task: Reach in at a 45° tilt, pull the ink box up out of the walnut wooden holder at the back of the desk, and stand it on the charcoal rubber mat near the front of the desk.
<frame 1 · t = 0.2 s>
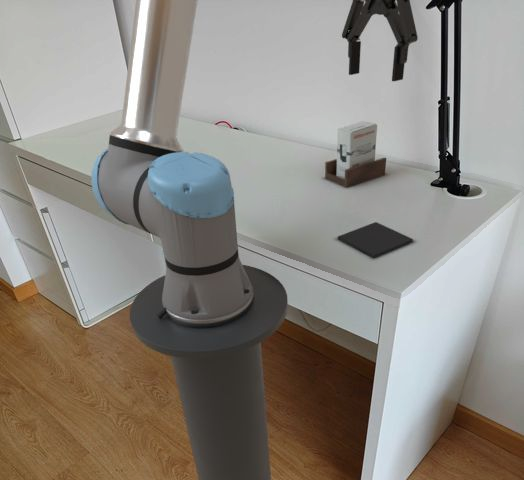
hand: (374, 77, 114), 21 cm above the table, tool pointing down, fingers open, 13 cm apart
ink box: (354, 177, 122), resting in holder
mat: (374, 240, 96), on the table
holder: (354, 176, 122), on the table
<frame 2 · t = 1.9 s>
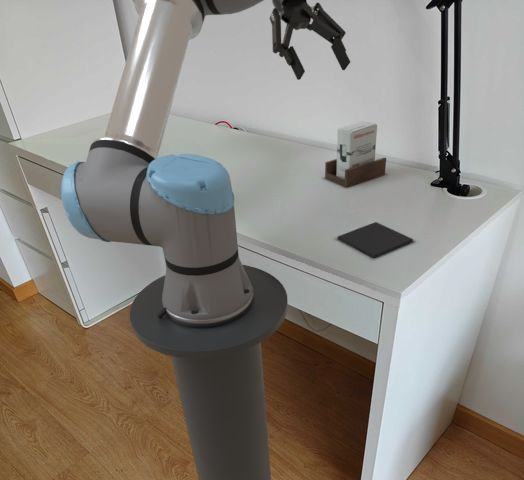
hand: (324, 71, 117), 22 cm above the table, tool tilted 45°, fingers open, 13 cm apart
nothing on the table moved.
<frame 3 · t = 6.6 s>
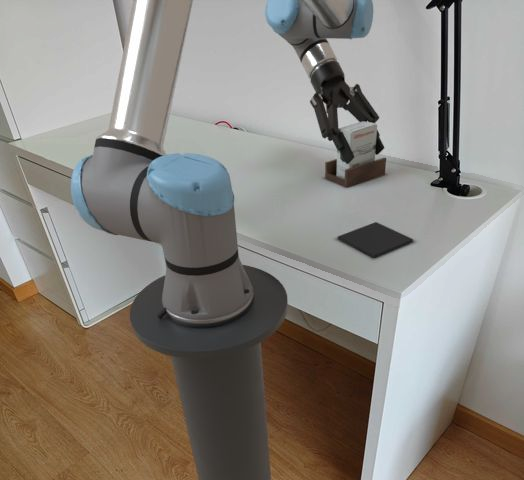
hand: (365, 155, 116), 6 cm above the table, tool tilted 45°, fingers closed on ink box, 9 cm apart
ink box: (354, 177, 122), resting in holder, touching gripper
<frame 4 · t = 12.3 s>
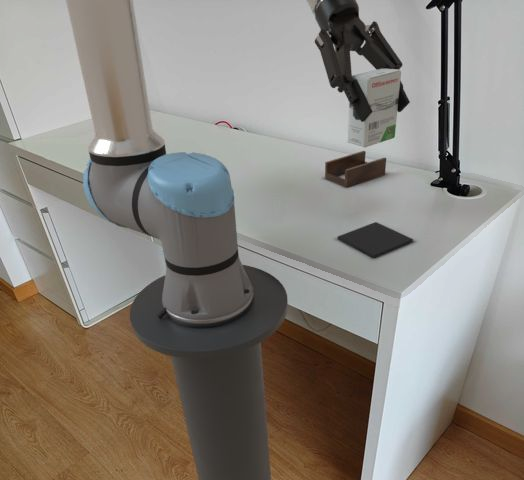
hand: (385, 112, 91), 20 cm above the table, tool tilted 45°, fingers closed on ink box, 9 cm apart
ink box: (370, 141, 97), point 14 cm above the table, touching gripper
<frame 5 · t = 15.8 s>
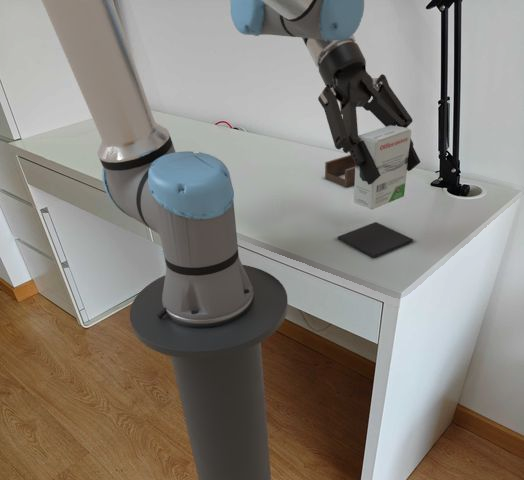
hand: (394, 173, 85), 14 cm above the table, tool tilted 45°, fingers closed on ink box, 9 cm apart
ink box: (378, 200, 91), point 8 cm above the table, touching gripper
when the fingers open (6 cm above the table, at t = 18.3 s): ink box stays where it is, resting on mat.
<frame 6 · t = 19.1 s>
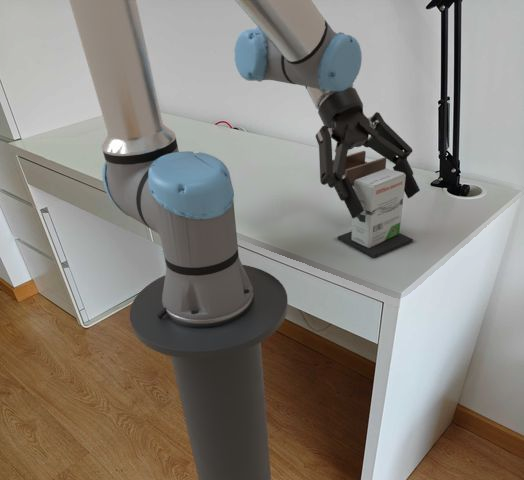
hand: (387, 204, 89), 8 cm above the table, tool tilted 45°, fingers open, 13 cm apart
ink box: (374, 238, 95), resting on mat
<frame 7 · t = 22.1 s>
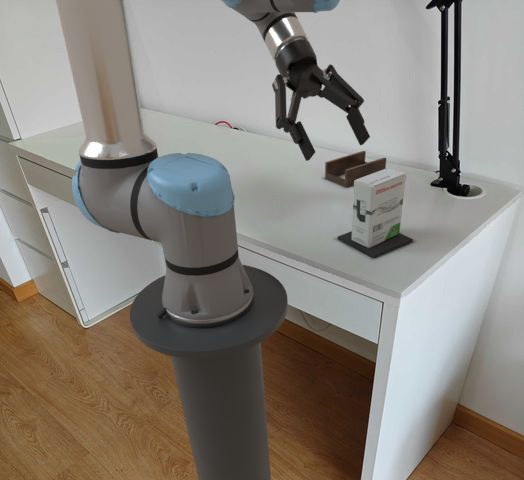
hand: (338, 148, 96), 14 cm above the table, tool tilted 45°, fingers open, 13 cm apart
nothing on the table moved.
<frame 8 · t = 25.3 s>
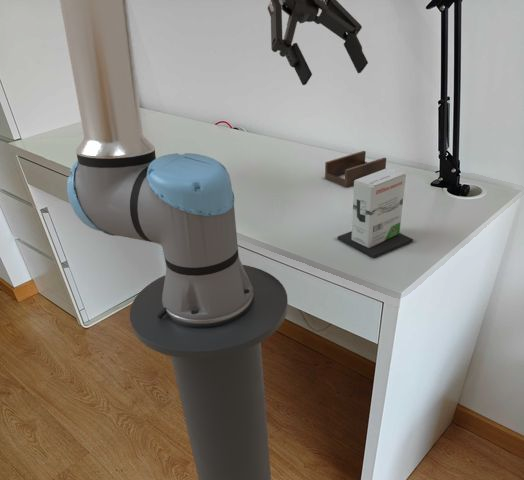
hand: (336, 74, 94), 26 cm above the table, tool tilted 45°, fingers open, 13 cm apart
nothing on the table moved.
at the end: ink box inside the target area on the mat (0.1 cm from its centre), point 0.4 cm above the mat's base; ink box tilted 0°; the gripper is holding nothing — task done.
